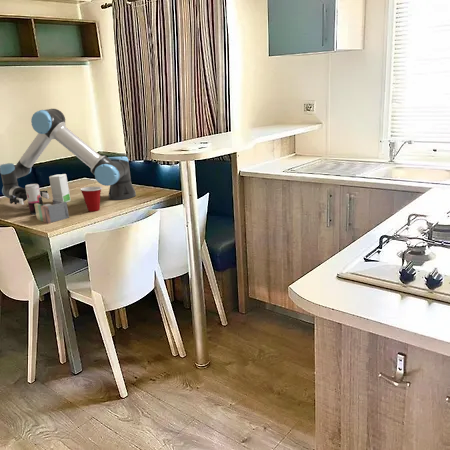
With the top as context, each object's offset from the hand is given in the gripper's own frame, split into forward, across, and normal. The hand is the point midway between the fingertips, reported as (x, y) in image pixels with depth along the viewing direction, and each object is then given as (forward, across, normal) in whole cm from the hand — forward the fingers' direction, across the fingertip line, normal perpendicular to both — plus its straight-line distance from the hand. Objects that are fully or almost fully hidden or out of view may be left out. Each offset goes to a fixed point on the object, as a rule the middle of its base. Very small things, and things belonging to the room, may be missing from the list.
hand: (35, 199), depth 245 cm
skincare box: (-12, -19, -8) cm, 24 cm away
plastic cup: (+21, -21, -8) cm, 30 cm away
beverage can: (-2, 0, -8) cm, 8 cm away
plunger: (+9, 0, -7) cm, 12 cm away
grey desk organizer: (+16, 0, -8) cm, 18 cm away
